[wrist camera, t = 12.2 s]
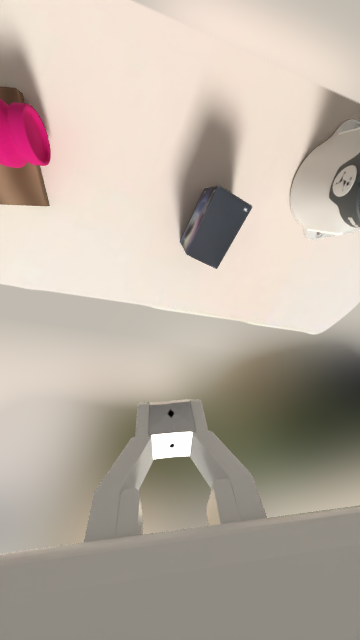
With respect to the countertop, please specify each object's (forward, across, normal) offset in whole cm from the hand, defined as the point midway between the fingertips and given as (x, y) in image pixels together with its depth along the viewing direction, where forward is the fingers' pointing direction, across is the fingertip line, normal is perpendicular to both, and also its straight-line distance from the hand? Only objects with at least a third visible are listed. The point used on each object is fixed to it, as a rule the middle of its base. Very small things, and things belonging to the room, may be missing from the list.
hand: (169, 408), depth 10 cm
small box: (+37, -9, -5) cm, 39 cm away
